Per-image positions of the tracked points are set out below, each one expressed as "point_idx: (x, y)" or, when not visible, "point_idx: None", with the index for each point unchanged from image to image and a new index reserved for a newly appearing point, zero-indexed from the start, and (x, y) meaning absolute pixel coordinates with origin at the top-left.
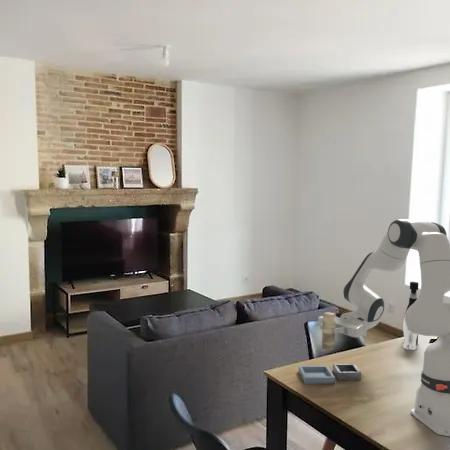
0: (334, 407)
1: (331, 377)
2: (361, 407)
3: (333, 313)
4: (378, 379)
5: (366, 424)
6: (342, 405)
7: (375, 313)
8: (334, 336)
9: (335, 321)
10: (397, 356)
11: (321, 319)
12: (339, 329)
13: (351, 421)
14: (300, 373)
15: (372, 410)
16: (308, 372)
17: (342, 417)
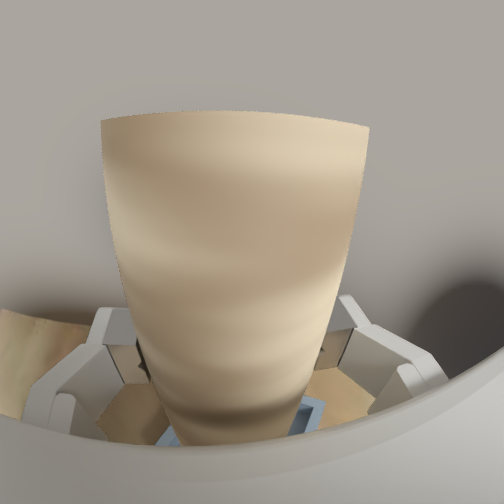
0: (71, 340)
1: (160, 439)
2: (24, 379)
3: (234, 112)
4: None
5: (5, 330)
6: (60, 359)
7: None
8: (166, 414)
9: (343, 489)
10: None
11: (496, 352)
12: (71, 364)
13: (28, 321)
14: None
15: (3, 382)
16: (288, 432)
17: (44, 321)
